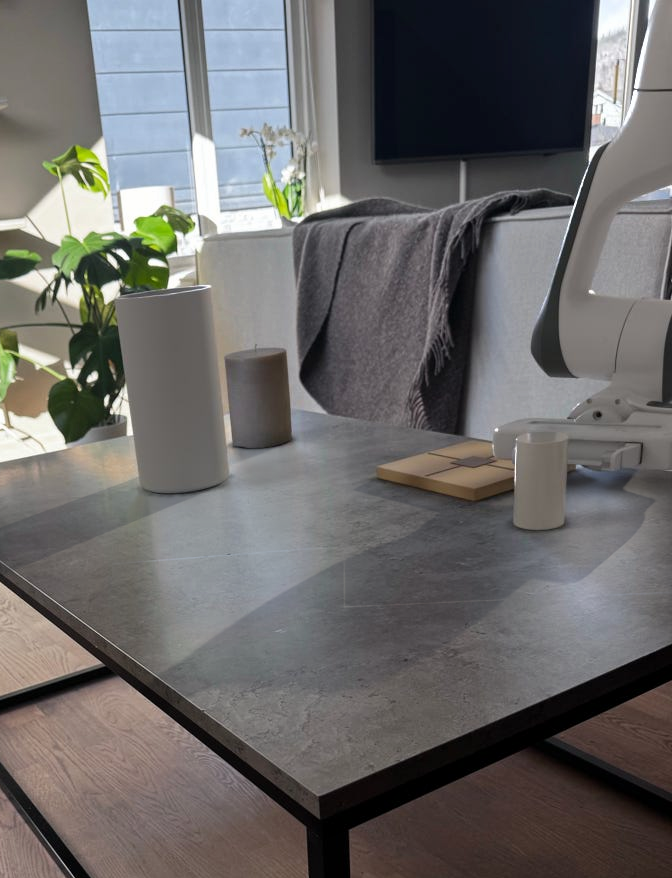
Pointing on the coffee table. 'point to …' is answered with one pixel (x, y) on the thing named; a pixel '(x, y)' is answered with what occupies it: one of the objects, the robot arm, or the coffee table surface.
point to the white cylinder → (540, 480)
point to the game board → (456, 471)
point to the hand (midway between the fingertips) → (561, 460)
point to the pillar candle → (259, 397)
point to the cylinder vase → (173, 388)
